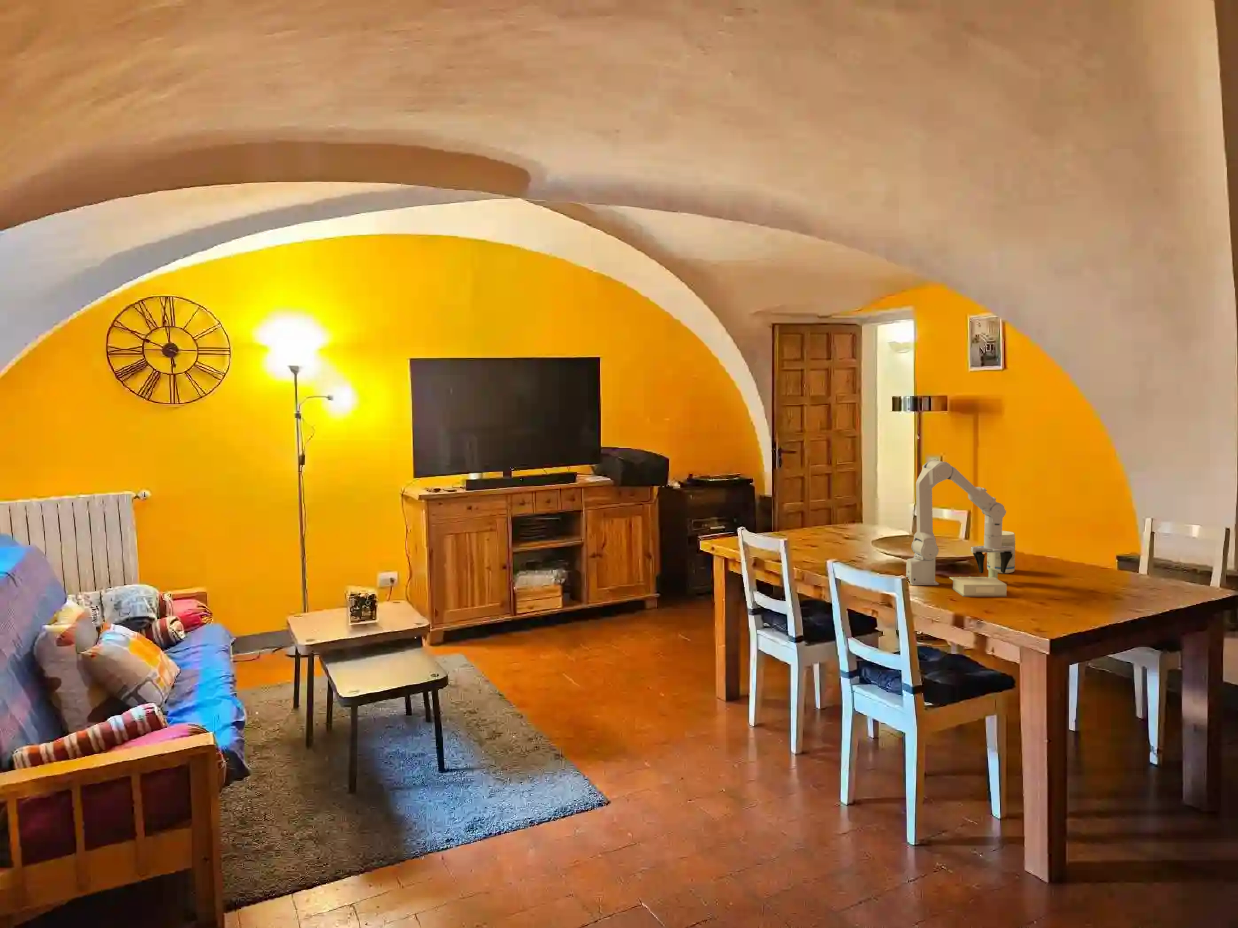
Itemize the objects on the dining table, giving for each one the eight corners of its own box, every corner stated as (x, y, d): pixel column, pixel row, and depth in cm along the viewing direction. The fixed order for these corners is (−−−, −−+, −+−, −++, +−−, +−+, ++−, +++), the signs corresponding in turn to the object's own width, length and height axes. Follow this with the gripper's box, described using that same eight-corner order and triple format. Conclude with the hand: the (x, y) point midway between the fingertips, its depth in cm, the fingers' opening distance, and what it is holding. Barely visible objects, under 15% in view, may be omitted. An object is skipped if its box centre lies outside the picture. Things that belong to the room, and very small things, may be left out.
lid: (959, 586, 291) (960, 573, 291) (949, 579, 302) (949, 566, 301) (1001, 586, 291) (1001, 572, 290) (989, 579, 301) (989, 566, 300)
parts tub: (963, 596, 276) (963, 584, 275) (952, 588, 286) (952, 577, 285) (1006, 596, 275) (1007, 584, 274) (994, 588, 285) (994, 577, 285)
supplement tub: (1019, 571, 310) (1021, 532, 308) (1005, 575, 305) (1006, 535, 303) (995, 567, 318) (996, 529, 316) (981, 570, 313) (982, 532, 311)
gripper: (976, 537, 290) (975, 574, 292) (1018, 536, 290) (1017, 574, 291) (969, 533, 297) (968, 570, 299) (1010, 533, 297) (1009, 570, 298)
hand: (992, 572), depth 295 cm, fingers open, 7 cm apart
